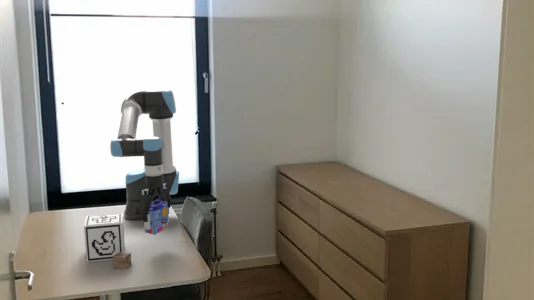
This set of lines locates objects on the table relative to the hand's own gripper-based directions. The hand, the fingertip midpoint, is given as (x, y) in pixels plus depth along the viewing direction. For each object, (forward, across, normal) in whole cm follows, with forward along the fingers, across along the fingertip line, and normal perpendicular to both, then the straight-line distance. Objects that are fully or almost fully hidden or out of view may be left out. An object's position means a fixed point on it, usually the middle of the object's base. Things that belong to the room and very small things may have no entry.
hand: (156, 225), depth 248 cm
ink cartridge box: (+2, 0, 0) cm, 2 cm away
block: (+10, -16, +14) cm, 24 cm away
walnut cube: (+10, -22, -3) cm, 25 cm away
